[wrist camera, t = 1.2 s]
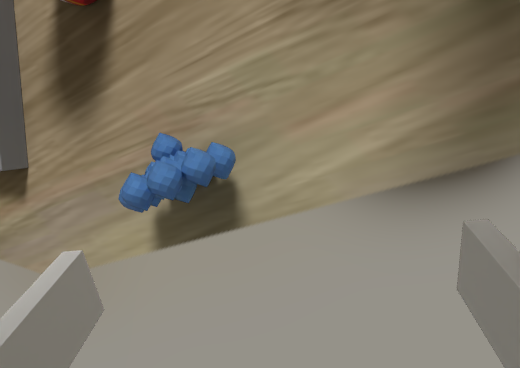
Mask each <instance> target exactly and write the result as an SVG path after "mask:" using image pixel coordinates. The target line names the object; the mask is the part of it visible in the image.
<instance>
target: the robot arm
mask: <svg viewBox="0 0 520 368" xmlns="http://www.w3.org/2000/svg"><path fill="white" fill-rule="evenodd" d="M457 290H458V292H459V293H460V295H461V297H462V298H463V300H464V301H465V303H466V305H467V307H468V308H469V310H470V312H471V313H472V315H473V316H474V318H475V320H476V321H477V323H478V325H479V326H480V328H481V330H482V331H483V333H484V334H485V336H486V338H487V339H488V341H489V343H490V344H491V346H492V348H493V349H494V351H495V352H496V354H497V356H498V357H499V359H500V361H501V362H502V364H503V366H504V367H505V368H520V252H519V251H518V250H517V249H516V247H515V246H514V245H513V244H512V243H511V242H510V241H509V240H508V239H507V238H506V237H505V236H504V235H503V234H502V233H501V232H500V231H499V230H498V229H497V228H496V227H495V226H494V225H493V224H492V223H491V222H490V221H489V219H482V220H469V221H463V228H462V239H461V250H460V261H459V272H458V282H457ZM103 311H104V308H103V305H102V302H101V299H100V297H99V294H98V291H97V289H96V286H95V283H94V280H93V278H92V275H91V272H90V270H89V267H88V264H87V261H86V259H85V256H84V253H83V250H80V251H67V252H62V253H61V254H60V255H59V256H58V257H57V258H56V259H55V261H54V262H53V263H52V264H51V265H50V266H49V267H48V268H47V269H46V270H45V271H44V272H43V273H42V275H41V276H40V277H39V278H38V279H37V280H36V281H35V282H34V283H33V284H32V285H31V287H30V288H29V289H28V290H27V291H26V292H25V293H24V294H23V295H22V296H21V297H20V298H19V299H18V300H17V301H16V302H15V304H14V305H13V306H12V307H11V308H10V309H9V310H8V311H7V312H6V313H5V314H4V315H3V317H2V318H1V319H0V368H69V367H70V365H71V363H72V362H73V360H74V359H75V357H76V355H77V354H78V352H79V351H80V349H81V347H82V346H83V344H84V342H85V341H86V339H87V337H88V336H89V334H90V333H91V331H92V329H93V328H94V326H95V324H96V323H97V321H98V319H99V318H100V316H101V315H102V313H103Z"/></svg>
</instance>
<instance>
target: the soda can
mask: <svg viewBox="0 0 520 368" xmlns="http://www.w3.org/2000/svg"><path fill="white" fill-rule="evenodd" d="M61 1H64V2H68V3H71V4H75V5H80V6H83V5H88V4H91V3H93V2H95V1H96V0H61Z"/></svg>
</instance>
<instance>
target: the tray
mask: <svg viewBox="0 0 520 368" xmlns="http://www.w3.org/2000/svg"><path fill="white" fill-rule="evenodd" d="M22 168H28V160H27V149H26V138H25V126H24V115H23V104H22V93H21V82H20V70H19V59H18V48H17V37H16V26H15V15H14V3H13V0H0V171H6V170H14V169H22Z"/></svg>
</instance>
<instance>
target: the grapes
mask: <svg viewBox="0 0 520 368" xmlns="http://www.w3.org/2000/svg"><path fill="white" fill-rule="evenodd" d="M151 155H152V158H153V159H154V160H156V162H151V163H150V165H149V166H148V167H147V169H146V172H145V175H138V174H135V173H130V175H129V177H128V178H127V180H126V181H125V183H124V185H123V186H122V188H121V190H120V194H119V201H120V203H121V204H122V205H123V206H124V207H126V208H128V209H131V210H134V211H138V212H141V213H142V212H143V211H144V210H146V211H147V210H148V208H149V207H150V205H152V206H156V207H157V206H158V204H159V203H160V201H161V199H163V200H164V198H167V199H170V200H174V199H176V200H179V201H182V202H186V203H189V202H190V200H191V198H192V197H193V194H194V192H195V190H196V188H197V184H199V185H202V186H205V187H207V186H208V185H209V183H210V181H211V179H212V177H213V176H215V177H218V178H221V179H227V178H228V176H229V174H230V173H231V170H232V168H233V166H234V164H235V154H234V152H233V151H232V150H231V149H230V148H228V147H226V146H223V145H220V144H217V143H213V142H212V143H211V144H210V146H209V148H208V149H207V152H205V151H202V150H199V149H195V148H192V147H190V149H189V148H188V149H187V151H186V152H184V151H183V149H182V144H181V142H180V141H179V140H177V139H176V138H174V137H172V136H169V135H166V134H162V133H159V135H158V137H157V138H156V140H155V142H154V143H153V146H152V149H151Z"/></svg>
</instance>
